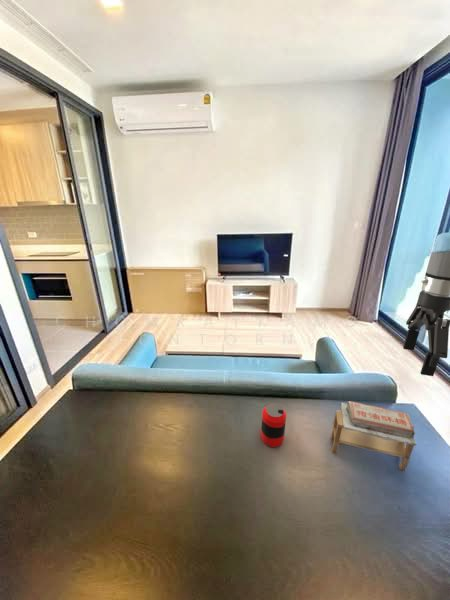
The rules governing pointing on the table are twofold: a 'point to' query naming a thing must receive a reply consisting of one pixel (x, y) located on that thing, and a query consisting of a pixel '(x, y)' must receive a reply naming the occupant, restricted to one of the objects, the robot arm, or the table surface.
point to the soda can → (273, 425)
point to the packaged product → (378, 422)
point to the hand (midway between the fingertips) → (416, 360)
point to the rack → (368, 441)
